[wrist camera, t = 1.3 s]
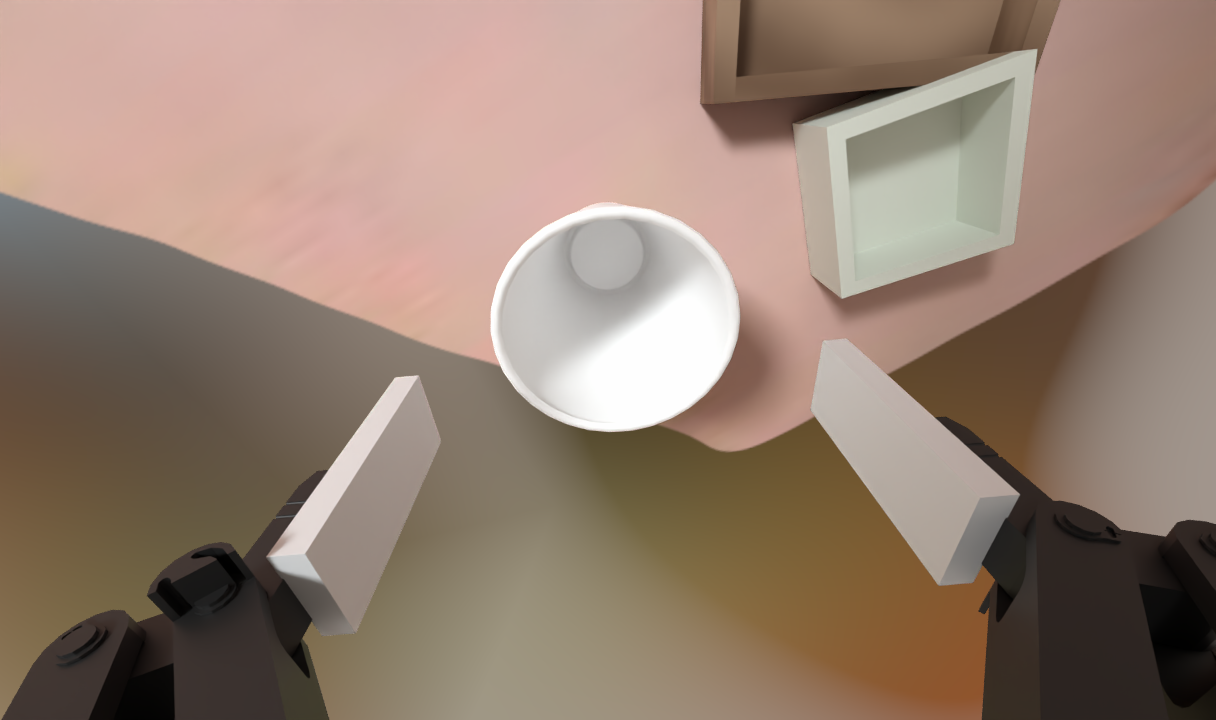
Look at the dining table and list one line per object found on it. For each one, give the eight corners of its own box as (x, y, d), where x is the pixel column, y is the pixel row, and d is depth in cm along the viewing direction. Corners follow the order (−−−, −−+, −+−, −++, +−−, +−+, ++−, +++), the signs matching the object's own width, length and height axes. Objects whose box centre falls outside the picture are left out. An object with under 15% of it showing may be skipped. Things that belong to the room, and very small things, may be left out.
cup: (683, 151, 24) (742, 185, 15) (691, 314, 29) (740, 417, 20) (506, 180, 25) (454, 230, 15) (544, 336, 30) (523, 446, 20)
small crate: (792, 123, 24) (826, 127, 20) (969, 56, 23) (1037, 48, 19) (810, 274, 28) (841, 298, 25) (959, 225, 27) (1014, 243, 24)
